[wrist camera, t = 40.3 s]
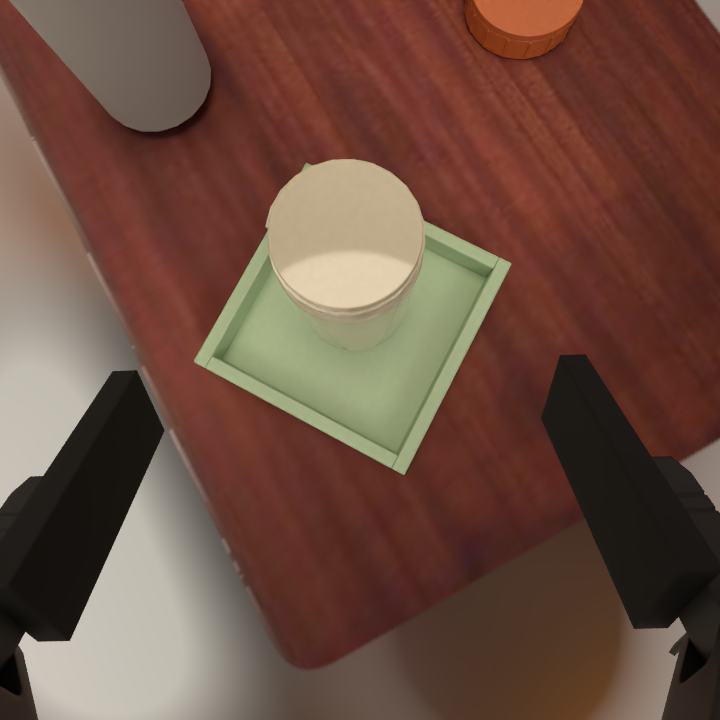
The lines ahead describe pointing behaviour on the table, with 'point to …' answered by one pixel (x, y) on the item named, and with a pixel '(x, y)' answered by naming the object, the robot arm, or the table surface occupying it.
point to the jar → (347, 250)
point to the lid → (520, 25)
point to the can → (128, 55)
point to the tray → (359, 368)
